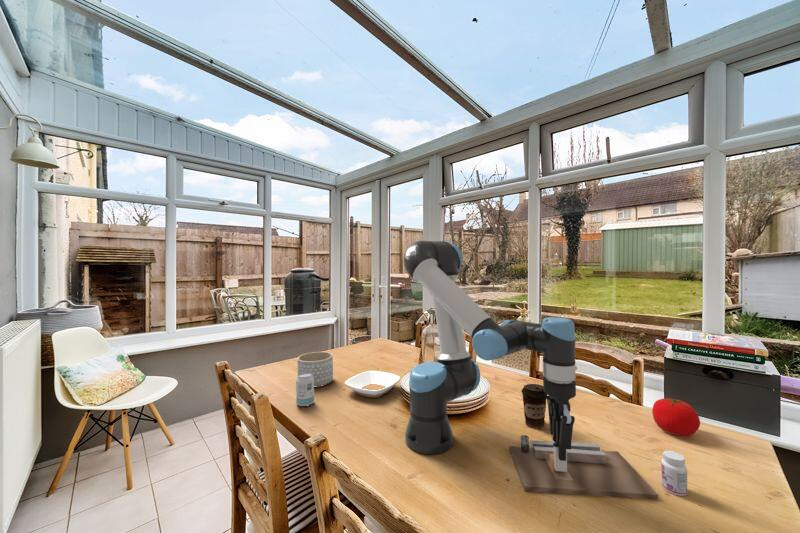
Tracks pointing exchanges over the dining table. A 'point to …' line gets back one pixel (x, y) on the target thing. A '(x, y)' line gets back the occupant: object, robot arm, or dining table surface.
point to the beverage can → (304, 389)
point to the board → (582, 477)
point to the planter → (317, 366)
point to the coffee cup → (534, 405)
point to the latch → (551, 461)
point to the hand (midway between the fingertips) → (560, 469)
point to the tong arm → (573, 455)
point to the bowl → (372, 382)
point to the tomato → (675, 417)
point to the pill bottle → (674, 473)
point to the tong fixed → (550, 444)
